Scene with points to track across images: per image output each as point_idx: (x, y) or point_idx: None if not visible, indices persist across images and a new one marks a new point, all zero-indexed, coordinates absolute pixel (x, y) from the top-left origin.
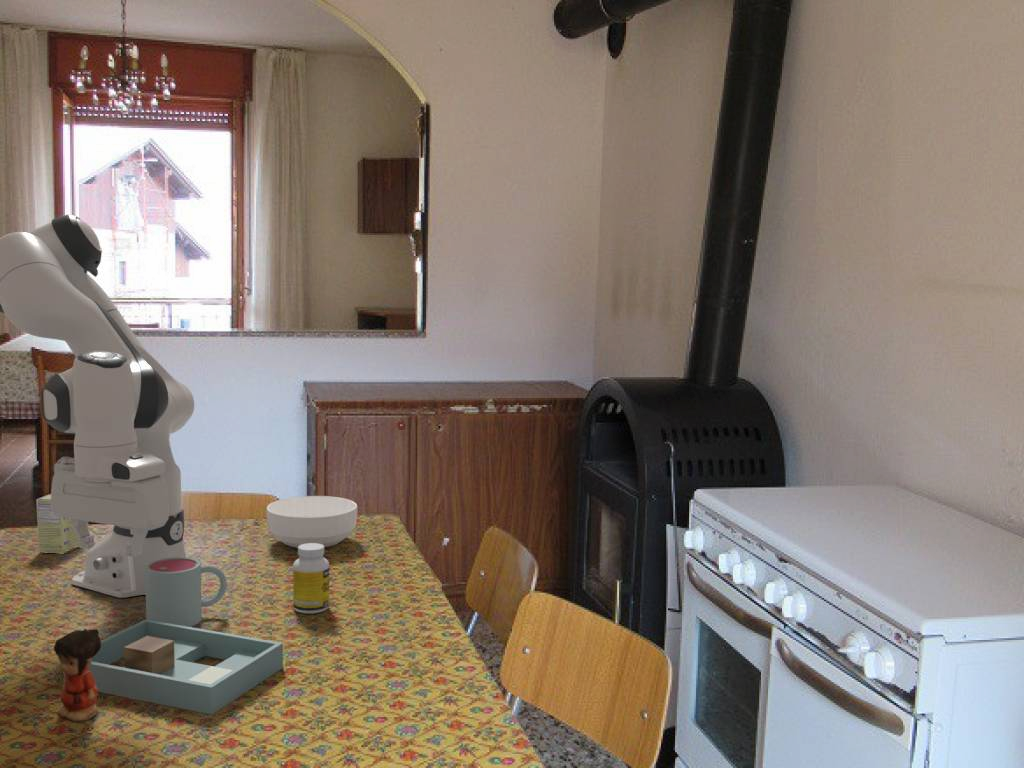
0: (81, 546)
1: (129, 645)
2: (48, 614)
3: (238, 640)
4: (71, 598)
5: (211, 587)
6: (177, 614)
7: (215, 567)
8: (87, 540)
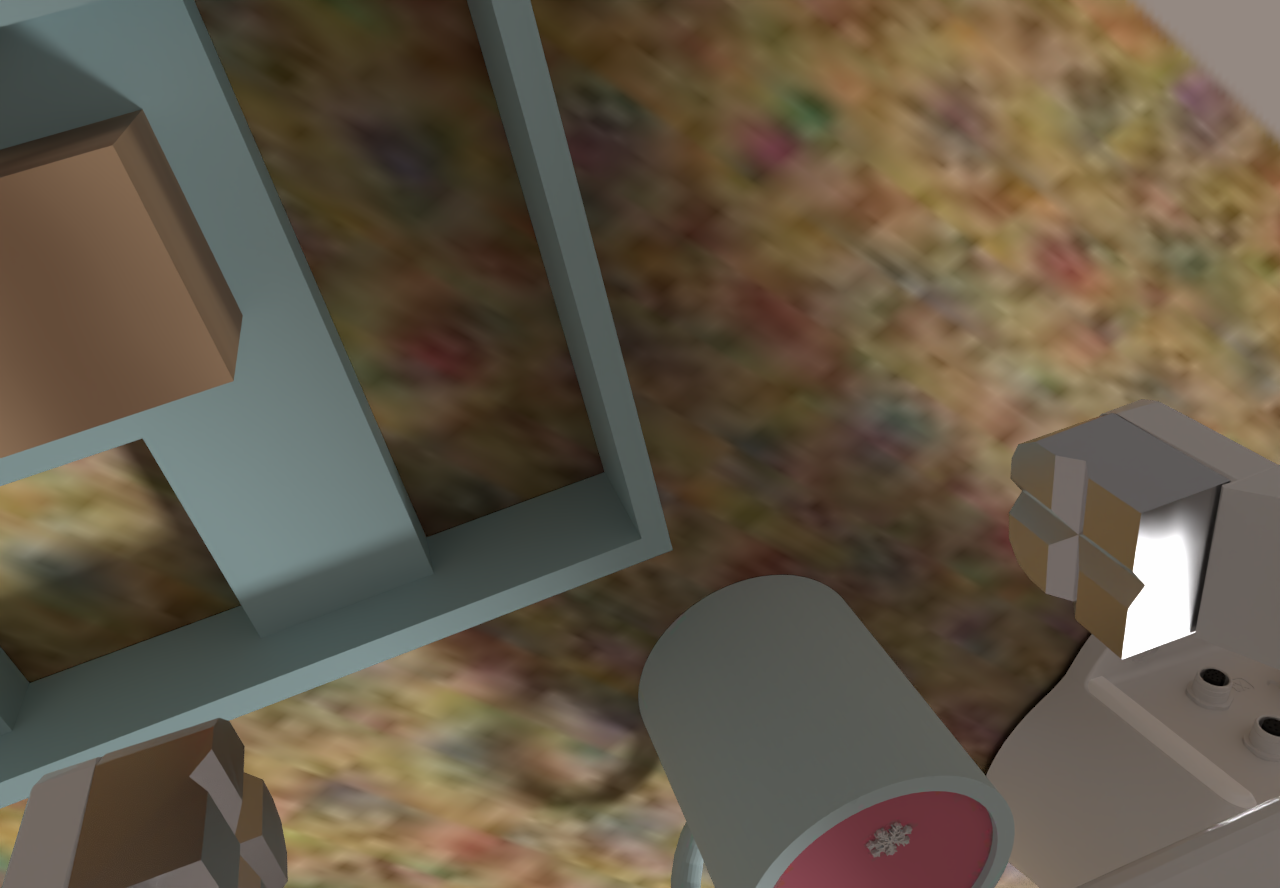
0: (1107, 420)
1: (124, 196)
2: (1236, 351)
3: (19, 763)
4: None
5: None
6: (680, 692)
7: None
8: (1098, 527)
